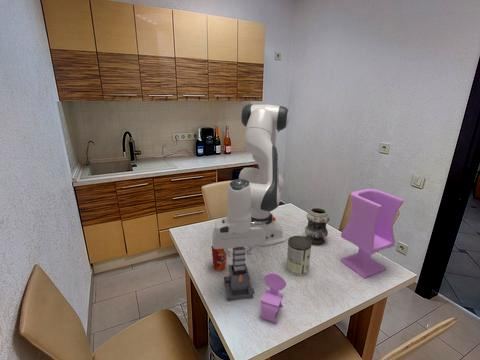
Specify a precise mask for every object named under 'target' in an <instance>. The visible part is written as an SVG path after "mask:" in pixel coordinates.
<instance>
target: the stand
mask: <svg viewBox="0 0 480 360" xmlns="http://www.w3.org/2000/svg"><path fill="white" fill-rule="evenodd" d="M250 280H251V276H250V273H249V270H248V267H247V265H246V262H245V273H243V274H234V275H233V264H229V265H228V276H223V282H224V285H225V293H226V298H227V302H230V301H238V300H246V299H253V298H254V295H255V294H256V292H255V289H254V287H252V285H251V282H250Z"/></svg>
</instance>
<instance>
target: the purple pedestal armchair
mask: <svg viewBox="0 0 480 360" xmlns="http://www.w3.org/2000/svg"><path fill="white" fill-rule="evenodd" d="M350 196H351V197H350V199H351V209H350V215H349V217H348V218H349V219H348V221H347V223H346V225H345V227H344V228H343V230H342V231H341V233H340V237H341V238H342V239H343V240H345V241H347V242H349V243H352V244H353V245H355V246H356V247H358V251H357V252H356V253H353V254H350V255H347V256H345V257H342V258H341V257H340V260H339V261H340V262H341V263H343V264H344V265H345V266H347V267H348V268H349V269H351V270H352V271H353V272H355V273H356V274H358V275H359V276H360V277H361V278H363V279H367V278H369V277H371V276H373V275H377V274H378V273H381V272H384V271H386V267H385V266H384V265H382V264H381V263H379V262H378V261H376V260H374V259H372V258H371V256H372V255H373V254H376V253H378V252H379V251H382V250H386V249H391V248H393V247H395V245H396V239H395V234H394V221H395V219H396V215H397V214H398V211H399V210H400V209H401V207H402V205H403V204H404V202H405V199H404V198H402V197H401V198H400V197H399V196H395V195H393V194H390V193H387V192H384V191H382V190H379V189H375V188H366V189H360V190H356V191H351V192H350Z"/></svg>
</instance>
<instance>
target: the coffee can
mask: <svg viewBox="0 0 480 360" xmlns="http://www.w3.org/2000/svg"><path fill="white" fill-rule="evenodd" d="M306 237H307V236H302V235H293V236H290V237H289V238H288V239H287V253H286V265H285V266H286V268H285V269H286V270H287V271H288V272H289V273H290V274H292V275H294V276H299V277H300V276H301V277H302V276H305V275H307V274H308V273H309V271H310V261H311V251H312V245H313V244H312V242H311V241H310V240H309V239H308V238H306Z"/></svg>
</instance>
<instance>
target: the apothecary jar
mask: <svg viewBox="0 0 480 360" xmlns="http://www.w3.org/2000/svg"><path fill="white" fill-rule="evenodd" d="M305 217H306V219H307V225H306V226H305V228H304V233H305V234H306V236H305V237H306V238H308V239H309V240H310V241H311V242H312V245H314V246H321V245H324V244H325V243H326V242H325V239H324V238H326V237H327V236H328V235H329V231H328V229H327V223H328V222H329V221H330V215H329V214H328V211H327V210H326V209H325V208H323V207H319V206H318V207H316V206H315V207H311V208H310V210H309V211H308V212H307V213H306V216H305Z"/></svg>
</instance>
